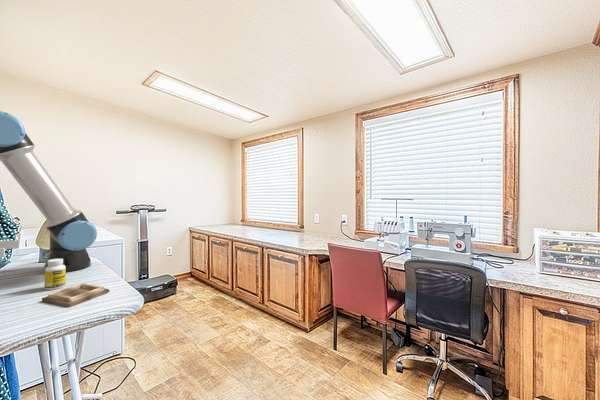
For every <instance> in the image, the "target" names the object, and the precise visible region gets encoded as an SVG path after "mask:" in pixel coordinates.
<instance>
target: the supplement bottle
mask: <svg viewBox="0 0 600 400" xmlns="http://www.w3.org/2000/svg"><path fill="white" fill-rule="evenodd" d="M47 264H48V267H46V268H45V271H44V289H45V290H46V291H50V290H51V291H53V290H54V291H55V290H58V289H59V290H60V289H61V288H64V287H66V273H67V272H66V267H65V265H62V264H63V259H51V260H48V263H47Z"/></svg>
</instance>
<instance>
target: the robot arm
mask: <svg viewBox="0 0 600 400" xmlns="http://www.w3.org/2000/svg"><path fill="white" fill-rule="evenodd" d="M35 147H36V146H35V143H33V141H32V140H31V138H30V137H29V135H28V134H27V132H26V129H25V126H24V125H23V122H21V120H19V119H18V118H17V117H16V116H14V115H13V114H10V113H8V112H5V111H2V110H0V162H1V163H2V164H3V166H4V167H5V168H6V169H7V171H8V172H9V173H10V175H11V176H12V177H13V178H14V180H15V181H16V182H17V184H18V185H19V186H20V187H21V188H22V190H23V191H24V193H25V194H26V195H27V196H28V198H29V199H30V200H31V202H33V204H34V205H35V206H36V208H37V209H38V210H39V212H40V213H41V214H42V215H43V217H44V218H45V219H46V224H45V227H46V229H47V230H48V231H49V254H48V255H47V258H46V261H45V264H44V265H43V267H44V268H43V271H44V272H45V268H46V267H48V264H47V263H48V260H51V259H63V264H62V265H65V267H66V273H69V272H74V271H75V272H76V271H79V270H83V269H87V268H89V267H90V266H91V263H92V261H91V258H90V254H89V253H88V250H87V248H89V247H90V246H92V245H93V244H94V243H95V242H96V240H97V236H98V231H97V228H96V226H95V225H94V224H93V223H91V222H90V221H89V220H88V218H87V217H86V215H85V214H84V213H83V212H82V210H79V209H75V208H74V207H73V206H72V204H71V203H70V201H69V200H68V199H67V198H66V196H65V195H64V193H63V192H62V191H61V189H60V188H59V186H58V185H57V183H56V182H55V181H54V179H53V178H52V176H51V175H50V173H49V172H48V171H47V170H46V168H45V167H44V166H43V164H42V162H41V161H40V160H39V159H38V157H37V156H36V154H35V153H34V149H35ZM13 249H15V250H16V249H17V250H18V249H20V240H0V258H5V257H6V255H5V252H6V250H13Z"/></svg>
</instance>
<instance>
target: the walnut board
mask: <svg viewBox="0 0 600 400" xmlns="http://www.w3.org/2000/svg"><path fill="white" fill-rule="evenodd" d="M108 292H109V293H110V289H108V288H105V286H101V285H94V284H89V283H80V284H76V285H73V286H70V287H67V288H64V289H61V290H60V289H59V290H57V291H53V292H51V293H48V294H47V296H45V297H41V302H44V303H49V304H52V305H53V304H54V305H57V306H64V307H68V308H71V307H74V306H77V305H80V304H82V303H85V302H87V301H89V300H92V299H95V298H98V297H101V296H103V295H106V294H108Z"/></svg>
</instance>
